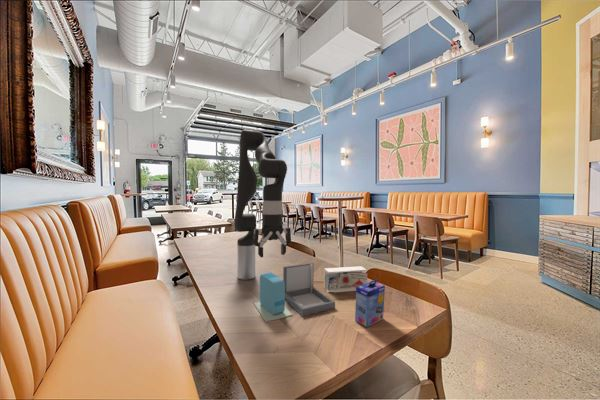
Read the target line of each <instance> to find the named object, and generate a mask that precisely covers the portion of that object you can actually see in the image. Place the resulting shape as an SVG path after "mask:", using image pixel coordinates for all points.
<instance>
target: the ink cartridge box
mask: <svg viewBox="0 0 600 400" xmlns="http://www.w3.org/2000/svg"><path fill="white" fill-rule="evenodd" d="M377 281H378V278H376V279H374V280H372V281H367V283H366V284H362V285H360V286H357V287H356V291H355V315H354V317H355V318H354V321H355V322H357V323H359V324H360V325H362V326H363V327H366V328H368V327H371V326H372V325H374V324H376V323H378V322H381V321H382V320H383V319H384V311H385V291H386V290H385V289H386V285H385V284H382V283H380V282H377Z"/></svg>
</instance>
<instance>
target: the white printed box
mask: <svg viewBox="0 0 600 400" xmlns="http://www.w3.org/2000/svg"><path fill="white" fill-rule="evenodd" d="M367 270H368V269H366V268H365V267H363V266H361V265H360V266H344V267H343V266H342V267H326V268H323V289H324V288H325V289H326V290H327V291H326V290H325V289H324V290H325V291H326V292H327V293H328V292H334V293H344V292H354V291H355V292H356V287H357V286H360V285H362V284H366V283H368V272H367ZM364 271H365V272H364Z"/></svg>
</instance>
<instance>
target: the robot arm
mask: <svg viewBox="0 0 600 400" xmlns="http://www.w3.org/2000/svg"><path fill="white" fill-rule="evenodd" d="M248 151H253V152H254V157H255V161H256V162H257V163H258V174H259V176H261V177H262V178H264V179H274V180H275V181H274V182H272V183H270V184H266V185H264V186H263V188H262V191H263V192H262V195H263V196H262V209H261V210H262V212H261V213H262V216H261V217H262V220H261V223H262V226H261V229H259V228H258V229H257V217H256V214H254V213H244V211H245V209H246V207H247V205H248V203H249V202H250V201H251V199H253V197H254V195H255V194H256V191H257V185H258V176H257V173H256V171H255V170H254V168H253V166H252V164H251V162H250V159H249V155H248ZM287 165H288V164H287V162H285V160H283V159H280V158H279V159H277V157H276V155H275V154H274V153H273V151H272V150H271V149H270V148H269V143H268V142H267V139H266V135H265V134H264V132H262V131H259V130H253V129H242V131H241V132H240V136H239V165H238V168H239V169H238V177H237V178H238V179H237V196H236V207H235V213H234V222H233V223H234V225H233V226H234V230H235V231H236V232H238V233H241V232H242V233H245V232H247V233H246V234H245V235H244V236H241V237H240V238H238V239H237V246H236V247H237V248H236V249H237V251H236V252H237V257H236V259H237V263H236V264H237V269H236V271H237V273H236V274H237V276H236V277H237V279H239V280H246V281H247V280H252V279H254V278H256V247H257V255H258V256H259V257H260V258H264V246H265V244H266V243H267V242H268V241H273V240H274V241H277V240H278V241H279V242H280V243H281V244H280V254H281V255H282V256H285V254H286V253H287V245H288V244H291V243H292V237H291V235H292V232H291V228H290V227H287V226H285V227H284V226H283V217H284V214H283V212H284V208H283V207H284V206H283V188H284V182H285V179H286V177H287V172H288V166H287ZM283 233H284V234H285V239H284V236H282V234H283ZM261 234H262V236H261V238H260V239H259V236H260V235H261Z"/></svg>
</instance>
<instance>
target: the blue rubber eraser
mask: <svg viewBox="0 0 600 400" xmlns="http://www.w3.org/2000/svg"><path fill="white" fill-rule="evenodd" d="M285 301H286V299H285V283H284V281H283V278H281V277H279V276H278V275H275V274H274V273H272V272H268V273H263V274H260V276H259V302H260V303H261V305H262V306H263V307H264V308H265V309H266V310H267V311H269V312H270V313H271V314H272V315H275V314H278V313H282V312H284V310H285V307H286V305H285V303H286V302H285Z"/></svg>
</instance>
